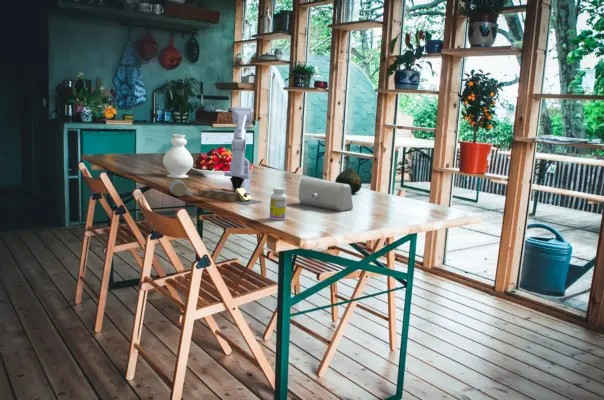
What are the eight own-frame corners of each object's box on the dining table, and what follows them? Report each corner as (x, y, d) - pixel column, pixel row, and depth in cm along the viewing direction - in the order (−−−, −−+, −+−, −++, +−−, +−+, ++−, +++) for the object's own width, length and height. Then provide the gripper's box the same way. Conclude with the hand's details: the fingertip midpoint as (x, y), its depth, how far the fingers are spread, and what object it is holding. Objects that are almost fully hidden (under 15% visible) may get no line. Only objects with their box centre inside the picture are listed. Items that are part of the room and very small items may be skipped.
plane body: (198, 195, 276) (198, 188, 275) (211, 193, 284) (211, 186, 284) (233, 202, 265) (234, 194, 264) (246, 199, 273) (246, 192, 273)
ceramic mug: (172, 197, 267) (173, 181, 266) (168, 194, 274) (169, 178, 273) (194, 197, 271) (195, 181, 270) (190, 194, 279) (191, 179, 277)
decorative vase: (157, 174, 340) (158, 133, 336) (182, 174, 352) (184, 133, 348) (172, 179, 327) (173, 135, 323) (198, 177, 339) (199, 136, 335)
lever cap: (234, 191, 267) (237, 187, 266) (241, 190, 271) (244, 186, 270) (243, 202, 265) (246, 198, 264) (249, 200, 269) (252, 197, 268)
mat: (248, 199, 274) (248, 199, 274) (261, 202, 270) (261, 201, 270) (233, 202, 264) (233, 201, 264) (246, 204, 260) (246, 204, 260)
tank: (290, 205, 267) (292, 179, 265) (309, 202, 280) (311, 177, 278) (335, 214, 253) (337, 186, 251) (353, 210, 266) (355, 183, 264)
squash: (338, 185, 307) (356, 165, 310) (326, 182, 320) (343, 163, 323) (354, 202, 312) (371, 182, 315) (342, 198, 326) (358, 179, 329)
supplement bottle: (269, 216, 235) (270, 186, 233) (284, 217, 236) (286, 187, 234) (269, 220, 229) (271, 189, 227) (285, 221, 230) (287, 189, 227)
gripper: (220, 163, 268) (219, 191, 270) (245, 166, 260) (243, 195, 263) (229, 162, 274) (228, 190, 276) (254, 165, 266) (252, 193, 269)
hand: (236, 192), depth 270 cm, fingers closed
